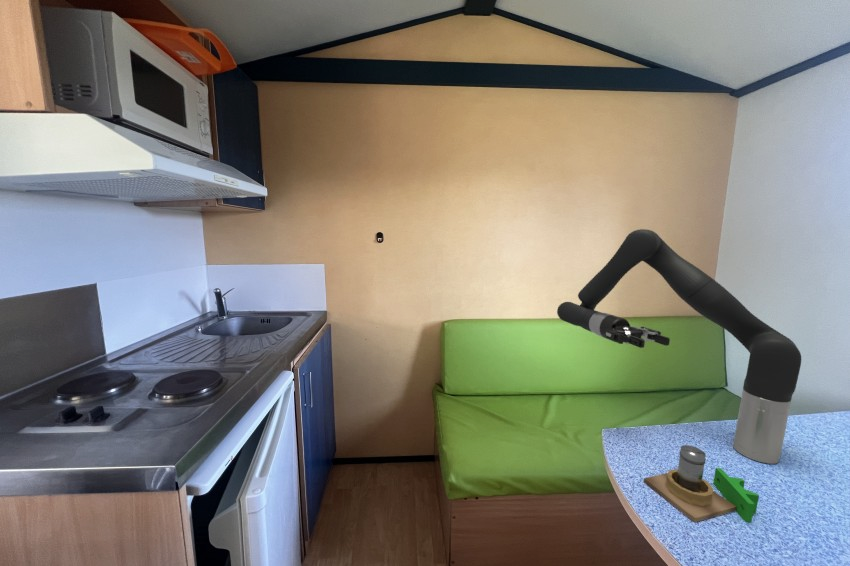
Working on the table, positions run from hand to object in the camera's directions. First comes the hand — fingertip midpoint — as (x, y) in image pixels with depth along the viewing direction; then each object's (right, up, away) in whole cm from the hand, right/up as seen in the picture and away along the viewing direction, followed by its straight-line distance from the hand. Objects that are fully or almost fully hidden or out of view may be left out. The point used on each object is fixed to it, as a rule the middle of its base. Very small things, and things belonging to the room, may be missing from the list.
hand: (656, 343), depth 92 cm
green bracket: (+8, -33, -15) cm, 37 cm away
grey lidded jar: (-2, -31, -13) cm, 34 cm away
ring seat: (-2, -32, -13) cm, 35 cm away
